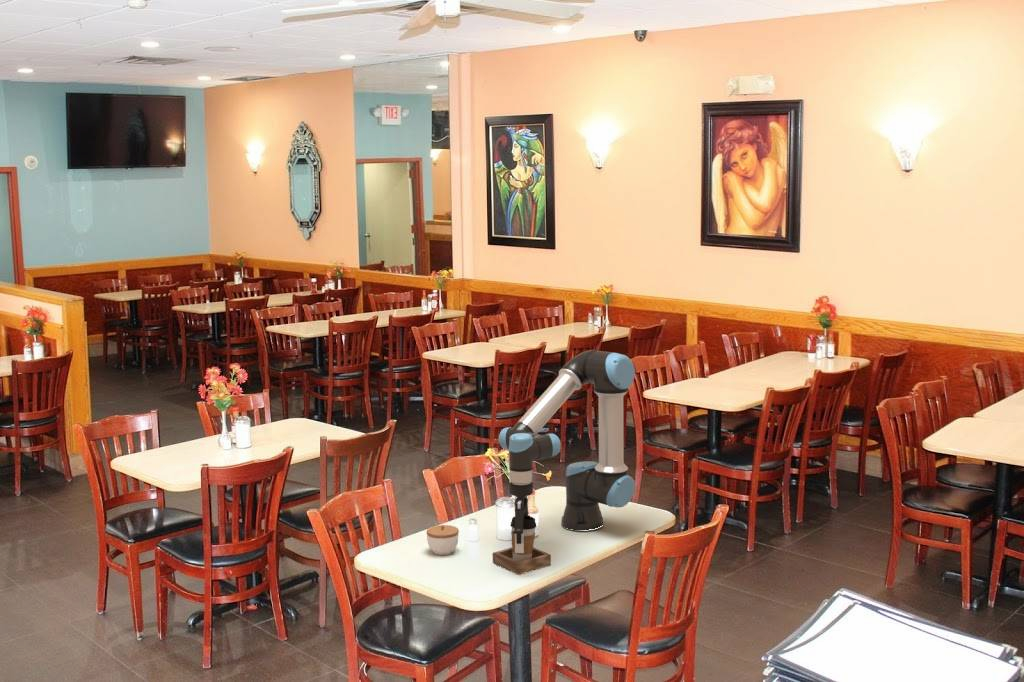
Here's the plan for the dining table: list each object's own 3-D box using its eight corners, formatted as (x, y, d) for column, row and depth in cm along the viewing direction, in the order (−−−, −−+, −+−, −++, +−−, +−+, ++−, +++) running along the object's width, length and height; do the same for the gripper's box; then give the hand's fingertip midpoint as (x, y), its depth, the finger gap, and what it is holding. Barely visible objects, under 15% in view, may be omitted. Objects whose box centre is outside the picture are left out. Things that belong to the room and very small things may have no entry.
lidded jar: (457, 557, 348) (456, 530, 346) (425, 557, 348) (424, 530, 347) (460, 546, 358) (460, 520, 357) (429, 546, 359) (428, 520, 358)
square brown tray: (524, 554, 350) (524, 543, 350) (550, 565, 340) (550, 554, 339) (492, 563, 342) (492, 552, 342) (518, 574, 332) (518, 563, 331)
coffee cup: (513, 567, 336) (515, 522, 334) (505, 558, 344) (507, 514, 342) (538, 565, 338) (540, 520, 336) (530, 557, 346) (532, 513, 344)
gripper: (513, 471, 350) (514, 532, 353) (504, 492, 325) (505, 558, 328) (536, 471, 349) (536, 533, 352) (528, 493, 324) (529, 559, 327)
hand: (521, 545), depth 340 cm, fingers open, 13 cm apart
